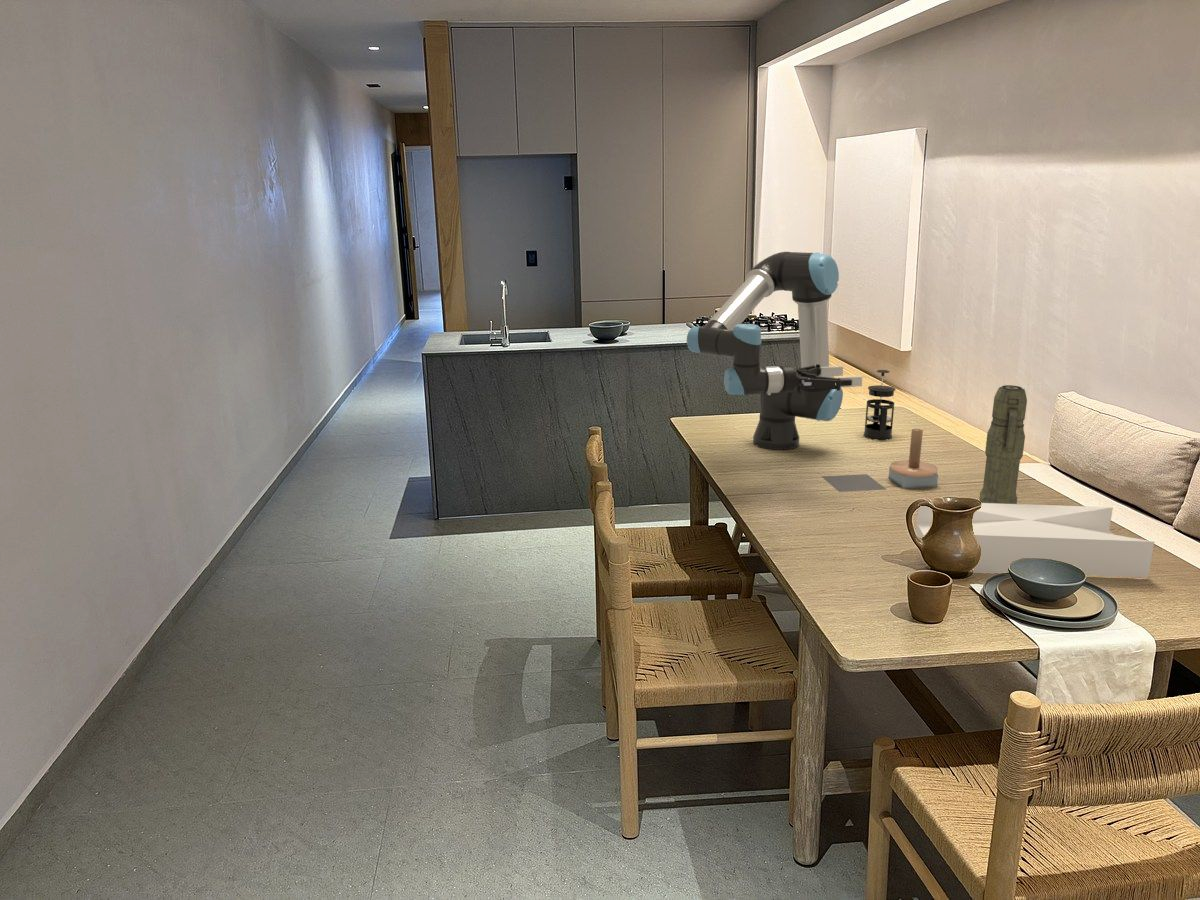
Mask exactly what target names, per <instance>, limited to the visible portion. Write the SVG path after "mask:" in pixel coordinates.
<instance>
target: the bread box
mask: <svg viewBox="0 0 1200 900" xmlns="http://www.w3.org/2000/svg"><path fill="white" fill-rule="evenodd" d="M1113 510H1114V507H1111V506H1110V507H1108V506H1088V505H1087V506H1083V505H1081V506H1080V505H1053V504H1051V505H1050V504H1026V503H1024V504H1023V503H1022V504H1021V503H1017V504H999V503H982V506H981V508H980V509H979V510H977V511H976V512H975V513H974V516H973V519H972V525H973V532H974V535H975V537H976V539H977V541H978V543H979V545H980V547H981V557H980V560H979V562H978V564H977V566H976V567H975V568H974V570H973V573H974V574H995V573H1004V572H1006V573H1007V572H1008V565H1009V563H1010V562H1011V561H1013V560H1016V559H1020V558H1047V559H1054V560H1059V561H1063V562H1066V563H1069V564H1072V565H1075V566H1077V567H1079V568H1081V569H1082V570H1083V571H1084V572H1085V574H1086V575H1087V576H1088V575H1099V576H1117V577H1120V576H1122V577H1148V578H1149V576H1150V575H1149V574H1150V569H1151V563H1152V558H1153V551H1154V547H1155V541H1151V540H1146V539H1140V538H1134V537H1128V536H1123V535H1117V534H1114V532H1112V531H1111V530H1110V527H1111V521H1112V515H1113ZM916 519H917V520H916V527H915V528H916V530H915V534H916V533H917V534H918V536H919V537H920V538H922V537H923V536H924V535H925V534H926V533H927V532H928V530H929V528H930V526H931V523H932V510H931V508H930V507H927V506H920V507H919V508H918V507H917V518H916Z"/></svg>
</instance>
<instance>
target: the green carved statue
mask: <svg viewBox="0 0 1200 900" xmlns="http://www.w3.org/2000/svg"><path fill="white" fill-rule="evenodd" d="M1027 402H1028V398H1027V393H1026V390H1025V388H1023V387H1021V386H1018V385H1013V384H1012V385H1009V384H1008V385H1007V384H1004V385H1001V386H999V387H997V391H996V392H995V395H994V397H993V404H992V405H993V406H992V411H991V412H992V414H991V417H992V420H991V422H990V427H989V428H988V431H987V434H986V441H985V450H984V451H985V456H986V457H985V458H986V459H985V466H984V467H985V468H984V469H985V470H984V477H983V484H982V488H981V491H980V492H979V499H978V500H980V501H981V502H982V503H999V504H1018V497H1017V487H1018V477H1019V471H1020V465H1021V463H1020V462H1021V459H1022V458H1023V456H1024V448H1025V439H1026V435H1025V434H1026V433H1025V430H1024V429H1025V428H1024V427H1025V424H1024V421H1025V420H1026V412H1027Z"/></svg>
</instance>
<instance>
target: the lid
mask: <svg viewBox="0 0 1200 900" xmlns="http://www.w3.org/2000/svg"><path fill="white" fill-rule="evenodd" d="M923 432H924V430H923V429H921V428H912V429H911V433H910V446H909V454H908V455H909V457H908V459H907V460H905V459H904V460H903V459H902V460H896V461H893V462H891V463H890V465H889V467H890V470H891V471H892V472H894V473H897V474H900V475H904V476H909V477H930V476H934V475H936V474H938V471H939V469H938V467H937V465H934V464H932V463H929V462H925V461H921V456H922V455H921V454H922V444H923V442H922V441H923Z"/></svg>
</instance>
